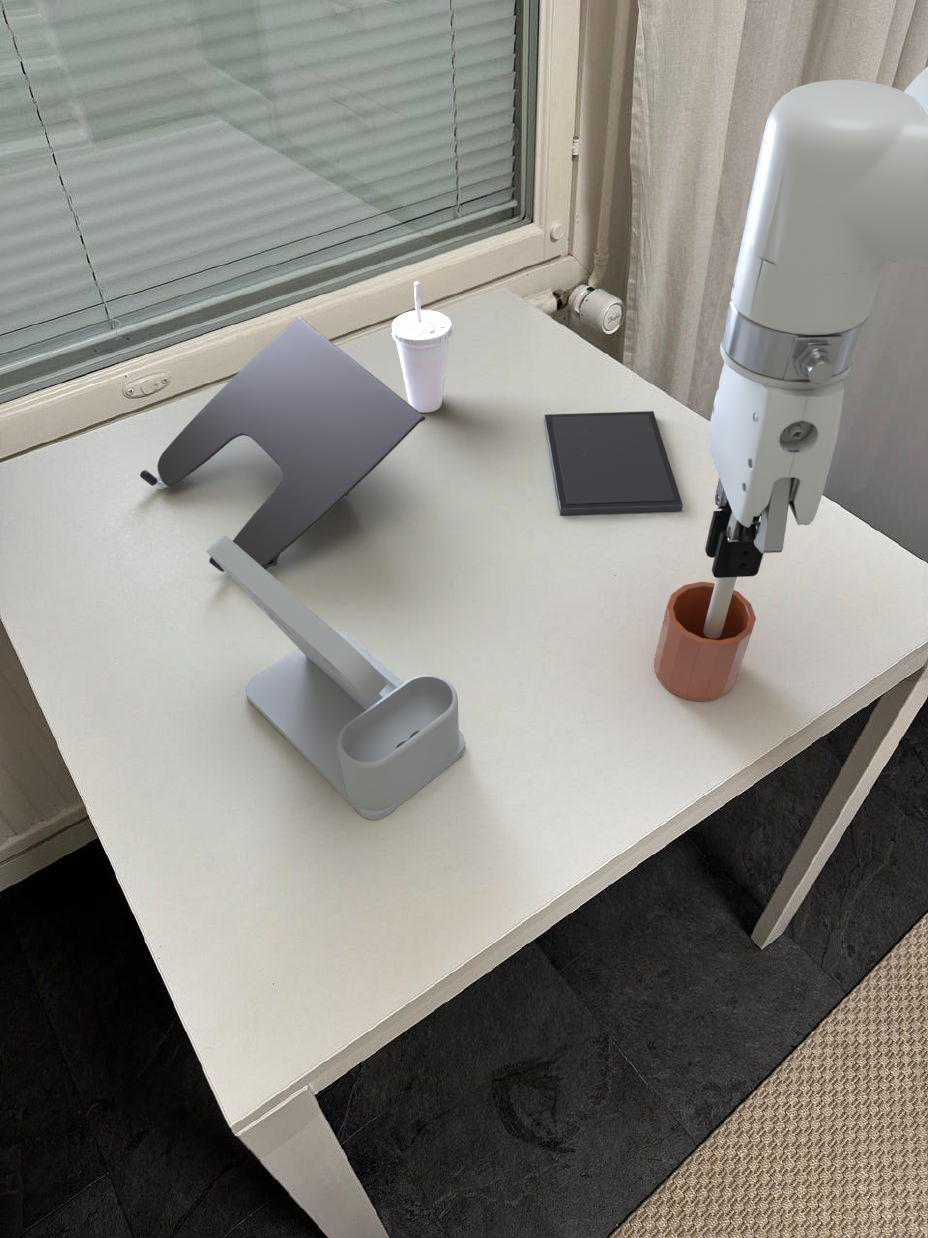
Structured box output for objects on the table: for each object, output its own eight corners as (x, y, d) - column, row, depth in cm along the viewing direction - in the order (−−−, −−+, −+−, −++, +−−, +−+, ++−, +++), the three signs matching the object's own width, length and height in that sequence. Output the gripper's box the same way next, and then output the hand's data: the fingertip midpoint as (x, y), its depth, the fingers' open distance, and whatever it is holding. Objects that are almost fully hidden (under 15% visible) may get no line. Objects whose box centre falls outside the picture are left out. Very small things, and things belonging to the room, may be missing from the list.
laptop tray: (182, 504, 98) (124, 457, 90) (331, 359, 99) (287, 300, 91) (284, 627, 85) (227, 585, 78) (455, 460, 86) (415, 402, 78)
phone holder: (475, 750, 68) (475, 585, 55) (373, 832, 64) (347, 672, 51) (336, 629, 77) (308, 461, 64) (238, 693, 72) (185, 526, 59)
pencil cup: (724, 638, 76) (742, 579, 71) (744, 701, 71) (765, 643, 66) (647, 640, 76) (660, 582, 71) (662, 704, 71) (677, 646, 66)
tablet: (652, 416, 98) (653, 410, 98) (681, 511, 87) (683, 504, 87) (544, 420, 98) (544, 413, 97) (559, 515, 87) (560, 508, 86)
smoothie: (433, 381, 103) (428, 264, 93) (465, 406, 100) (463, 288, 90) (386, 399, 101) (376, 281, 91) (417, 426, 97) (410, 306, 87)
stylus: (716, 633, 71) (753, 497, 61) (720, 647, 70) (758, 510, 60) (699, 634, 71) (732, 498, 61) (703, 647, 70) (738, 512, 60)
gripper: (906, 406, 46) (814, 642, 59) (814, 266, 57) (754, 493, 70) (761, 412, 46) (702, 647, 59) (697, 271, 57) (658, 497, 70)
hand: (730, 562), depth 65 cm, fingers closed on stylus, 1 cm apart
